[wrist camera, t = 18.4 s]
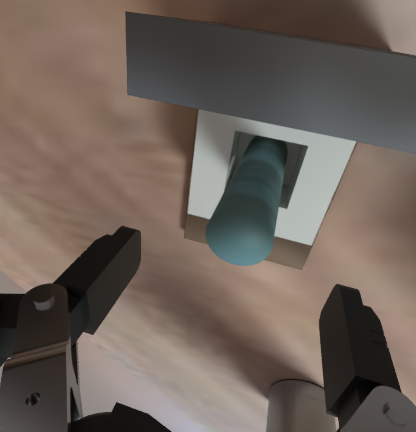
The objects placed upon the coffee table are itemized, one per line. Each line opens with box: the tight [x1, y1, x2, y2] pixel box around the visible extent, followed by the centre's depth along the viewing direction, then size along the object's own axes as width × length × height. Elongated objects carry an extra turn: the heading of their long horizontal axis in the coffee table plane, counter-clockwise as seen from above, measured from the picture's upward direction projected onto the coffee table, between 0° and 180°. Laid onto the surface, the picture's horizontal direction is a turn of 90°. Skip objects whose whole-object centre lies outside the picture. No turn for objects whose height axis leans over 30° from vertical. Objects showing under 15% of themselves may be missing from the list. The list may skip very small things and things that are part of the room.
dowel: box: [206, 135, 287, 266], centre depth 18 cm, size 3×3×12 cm
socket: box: [187, 109, 356, 246], centre depth 22 cm, size 10×10×5 cm
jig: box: [125, 12, 416, 270], centre depth 21 cm, size 20×13×13 cm, turn 172°
